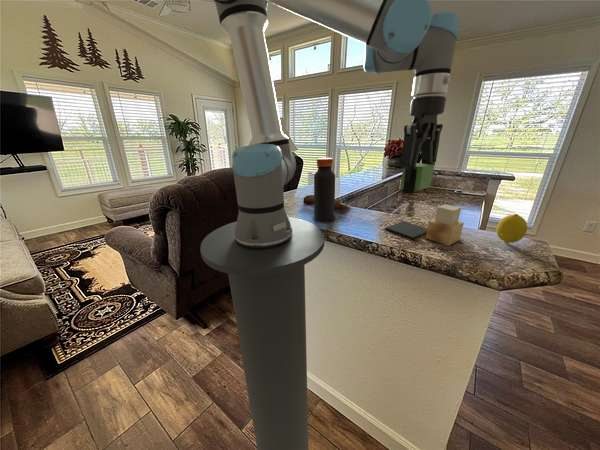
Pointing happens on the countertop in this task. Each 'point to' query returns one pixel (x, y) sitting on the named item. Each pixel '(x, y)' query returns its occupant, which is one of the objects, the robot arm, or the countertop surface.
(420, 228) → the coaster
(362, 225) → the countertop surface
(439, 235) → the maple block
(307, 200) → the sunglasses case
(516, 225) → the lemon
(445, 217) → the cream block
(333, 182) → the bottle
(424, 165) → the green block
